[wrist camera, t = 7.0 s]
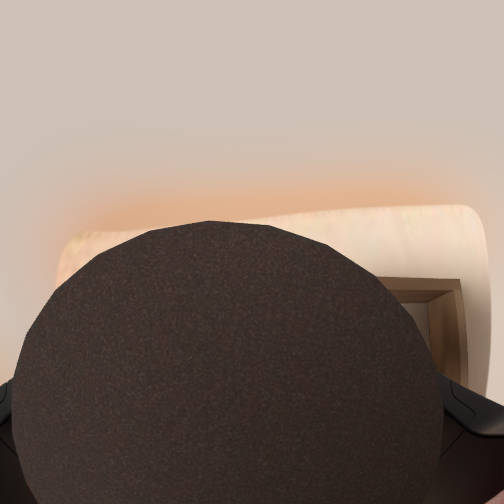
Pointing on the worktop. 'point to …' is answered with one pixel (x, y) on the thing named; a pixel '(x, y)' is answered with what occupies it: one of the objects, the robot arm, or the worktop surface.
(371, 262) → the worktop surface
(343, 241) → the worktop surface
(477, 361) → the worktop surface
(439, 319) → the tub
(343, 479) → the deodorant
